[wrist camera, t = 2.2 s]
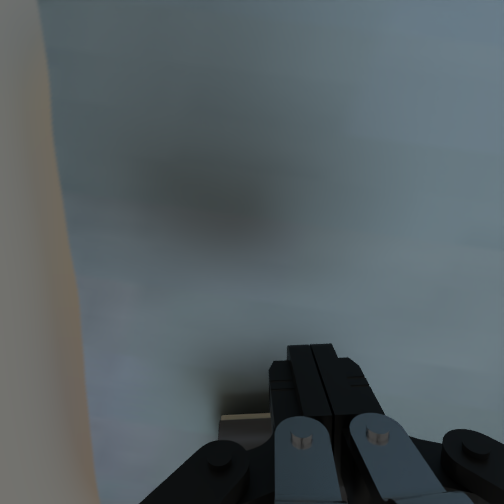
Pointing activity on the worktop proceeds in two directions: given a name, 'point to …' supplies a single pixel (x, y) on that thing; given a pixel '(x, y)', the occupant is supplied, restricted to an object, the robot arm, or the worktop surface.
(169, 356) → the worktop surface
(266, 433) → the grey l-shaped piece
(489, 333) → the worktop surface
